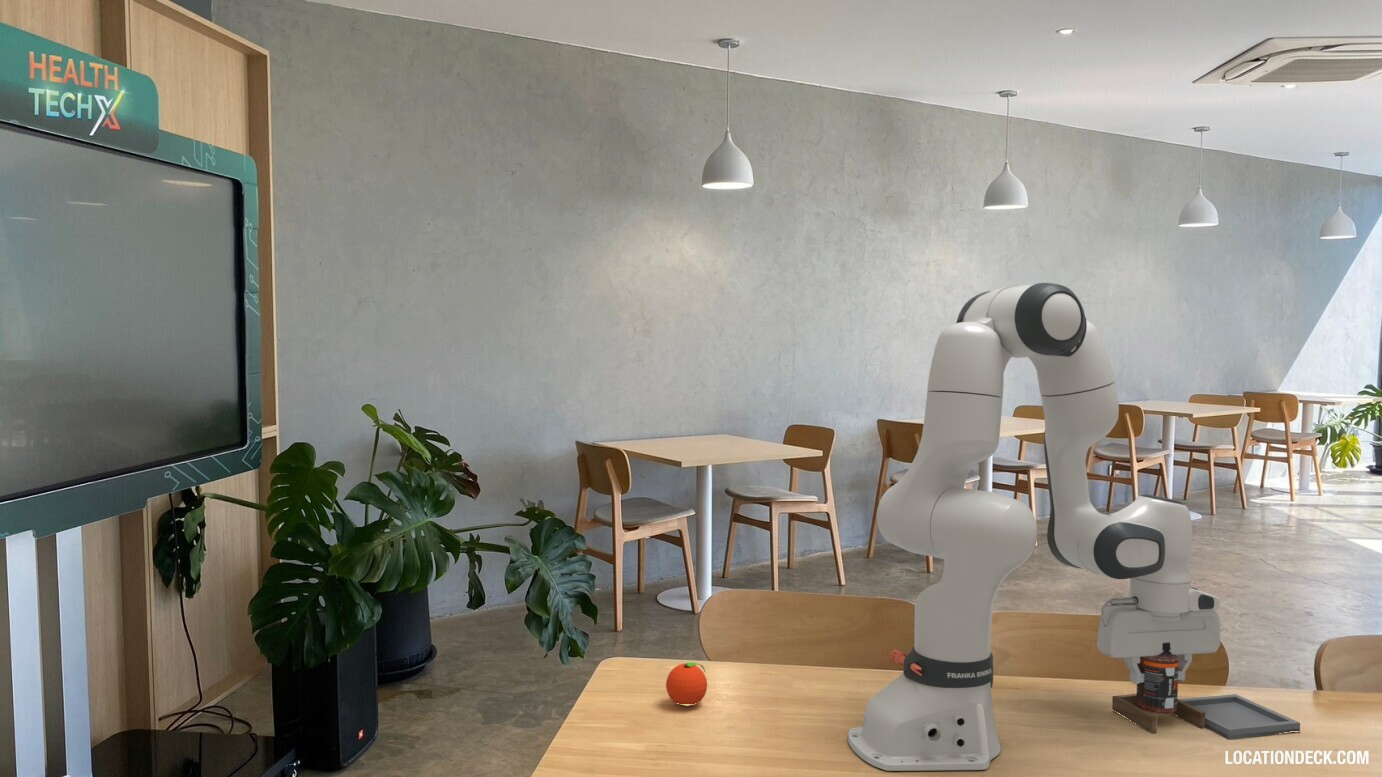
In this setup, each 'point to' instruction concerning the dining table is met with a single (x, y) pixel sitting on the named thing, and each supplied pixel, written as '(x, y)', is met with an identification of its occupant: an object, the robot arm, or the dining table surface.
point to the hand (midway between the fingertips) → (1157, 681)
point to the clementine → (686, 684)
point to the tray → (1241, 717)
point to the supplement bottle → (1159, 682)
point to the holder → (1148, 721)
